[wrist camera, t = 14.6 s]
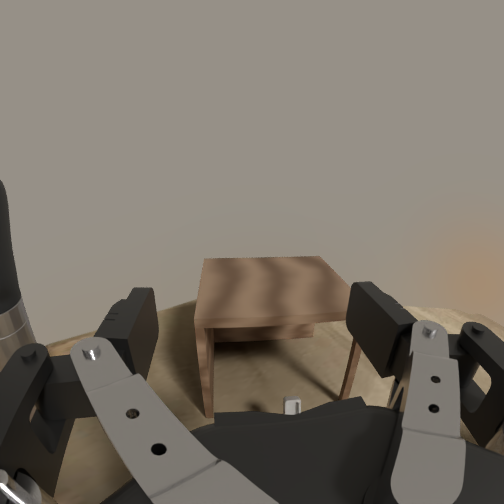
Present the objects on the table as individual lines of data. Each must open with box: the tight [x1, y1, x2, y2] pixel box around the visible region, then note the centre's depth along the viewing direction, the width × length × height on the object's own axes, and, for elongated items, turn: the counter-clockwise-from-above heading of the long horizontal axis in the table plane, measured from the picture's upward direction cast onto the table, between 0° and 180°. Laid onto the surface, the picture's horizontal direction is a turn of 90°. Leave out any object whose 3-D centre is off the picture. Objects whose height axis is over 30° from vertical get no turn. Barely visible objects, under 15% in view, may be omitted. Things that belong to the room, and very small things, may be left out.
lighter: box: [283, 396, 301, 415], centre depth 27 cm, size 7×2×8 cm, turn 3°
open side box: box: [194, 256, 361, 418], centre depth 43 cm, size 20×20×16 cm
